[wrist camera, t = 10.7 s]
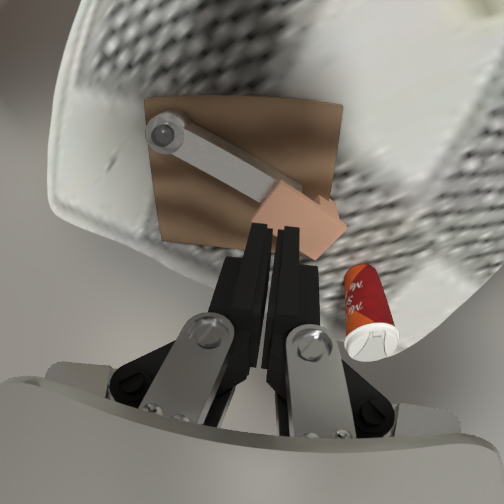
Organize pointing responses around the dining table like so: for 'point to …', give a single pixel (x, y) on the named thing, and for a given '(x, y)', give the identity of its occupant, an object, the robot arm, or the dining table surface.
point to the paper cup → (367, 316)
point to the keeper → (301, 218)
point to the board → (253, 142)
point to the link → (213, 155)
